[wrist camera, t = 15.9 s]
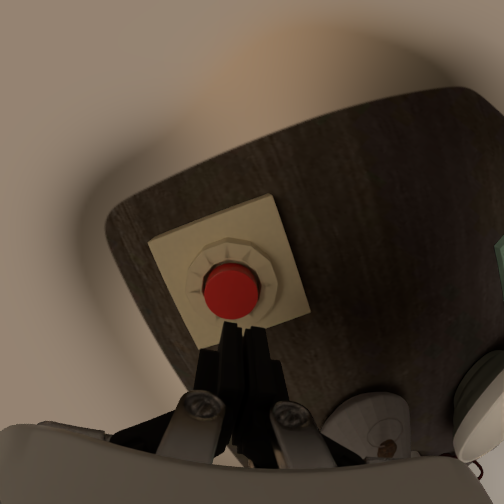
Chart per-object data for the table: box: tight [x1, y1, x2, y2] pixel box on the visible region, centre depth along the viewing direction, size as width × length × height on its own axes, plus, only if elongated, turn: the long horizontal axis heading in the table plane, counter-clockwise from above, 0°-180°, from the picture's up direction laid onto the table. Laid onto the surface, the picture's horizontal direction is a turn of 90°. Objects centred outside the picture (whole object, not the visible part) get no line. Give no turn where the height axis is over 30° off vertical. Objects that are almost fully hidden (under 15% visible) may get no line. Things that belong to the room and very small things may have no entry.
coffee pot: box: [320, 392, 411, 459], centre depth 22 cm, size 21×12×15 cm, turn 24°
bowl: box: [453, 350, 504, 463], centre depth 27 cm, size 20×20×10 cm
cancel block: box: [148, 194, 311, 349], centre depth 23 cm, size 10×10×4 cm
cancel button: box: [204, 263, 258, 320], centre depth 20 cm, size 4×4×2 cm
